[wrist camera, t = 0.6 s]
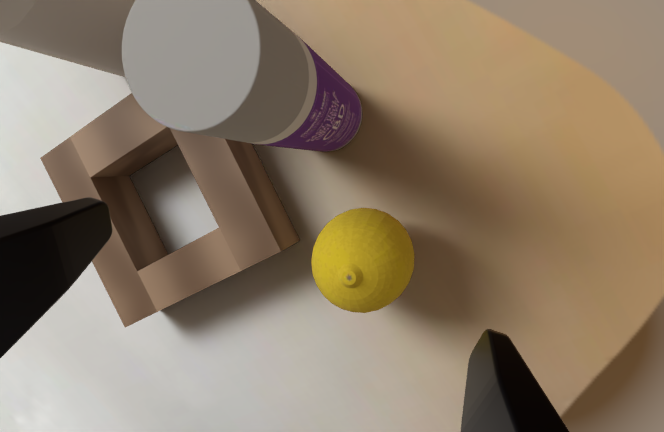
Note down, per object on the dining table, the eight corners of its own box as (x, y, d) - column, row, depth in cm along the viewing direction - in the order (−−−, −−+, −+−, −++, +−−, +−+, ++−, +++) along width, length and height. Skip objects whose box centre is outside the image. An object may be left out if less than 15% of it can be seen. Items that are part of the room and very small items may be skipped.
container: (360, 153, 25) (262, 140, 11) (290, 149, 26) (119, 133, 12) (365, 77, 25) (268, -46, 10) (293, 76, 26) (115, -35, 11)
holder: (158, 309, 31) (125, 327, 27) (83, 158, 31) (40, 158, 27) (300, 240, 27) (280, 251, 24) (214, 69, 27) (183, 56, 24)
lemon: (427, 274, 25) (424, 324, 17) (346, 293, 27) (310, 345, 19) (403, 191, 25) (390, 203, 17) (322, 214, 26) (277, 235, 19)
